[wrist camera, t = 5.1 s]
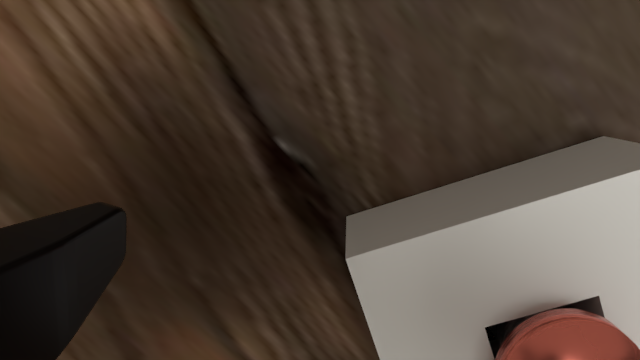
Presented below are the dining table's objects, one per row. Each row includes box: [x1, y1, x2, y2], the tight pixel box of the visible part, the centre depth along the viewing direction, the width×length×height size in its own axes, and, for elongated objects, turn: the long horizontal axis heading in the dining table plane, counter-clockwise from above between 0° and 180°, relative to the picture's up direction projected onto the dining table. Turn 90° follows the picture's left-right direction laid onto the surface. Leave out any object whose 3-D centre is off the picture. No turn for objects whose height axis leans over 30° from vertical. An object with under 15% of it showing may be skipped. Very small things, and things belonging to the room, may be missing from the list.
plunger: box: [488, 307, 640, 360], centre depth 17 cm, size 4×4×5 cm
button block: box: [345, 136, 640, 360], centre depth 18 cm, size 10×10×5 cm
